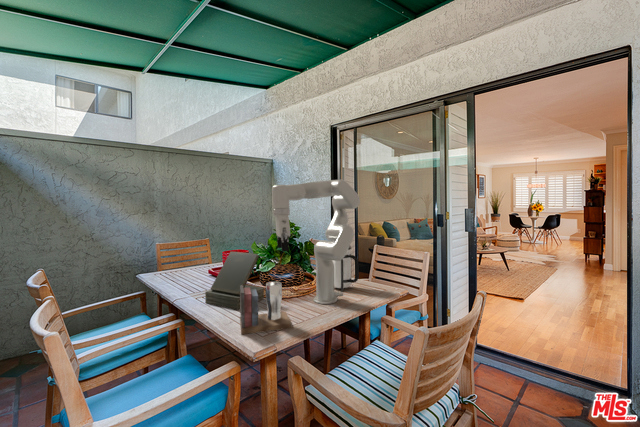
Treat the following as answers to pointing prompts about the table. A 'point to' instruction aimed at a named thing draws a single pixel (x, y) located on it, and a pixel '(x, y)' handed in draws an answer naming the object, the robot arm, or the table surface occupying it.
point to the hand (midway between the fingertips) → (283, 249)
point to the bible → (233, 281)
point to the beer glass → (273, 300)
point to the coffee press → (345, 271)
